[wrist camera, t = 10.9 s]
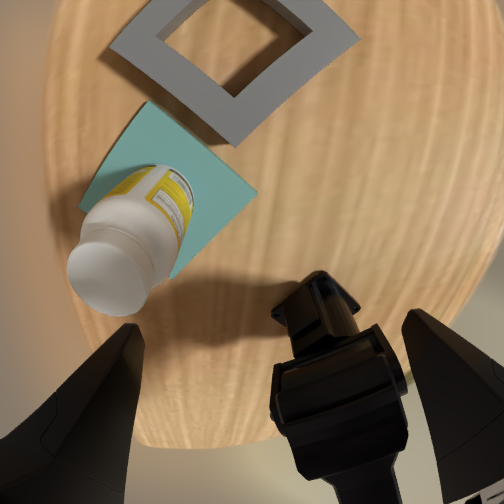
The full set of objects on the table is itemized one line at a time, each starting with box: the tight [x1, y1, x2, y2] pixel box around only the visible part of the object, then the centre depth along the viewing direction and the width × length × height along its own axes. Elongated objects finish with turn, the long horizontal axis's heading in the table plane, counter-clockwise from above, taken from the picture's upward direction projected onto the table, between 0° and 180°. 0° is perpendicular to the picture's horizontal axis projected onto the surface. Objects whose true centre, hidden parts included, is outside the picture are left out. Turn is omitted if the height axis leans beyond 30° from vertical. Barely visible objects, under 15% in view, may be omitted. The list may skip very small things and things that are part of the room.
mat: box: [78, 101, 257, 279], centre depth 19 cm, size 10×10×1 cm
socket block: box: [109, 0, 361, 148], centre depth 13 cm, size 11×11×2 cm
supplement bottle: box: [67, 164, 194, 317], centre depth 14 cm, size 5×5×10 cm
